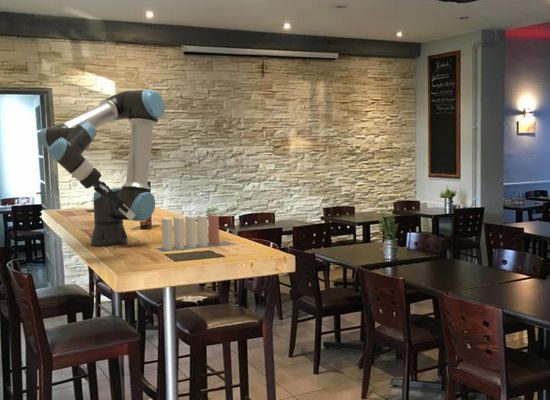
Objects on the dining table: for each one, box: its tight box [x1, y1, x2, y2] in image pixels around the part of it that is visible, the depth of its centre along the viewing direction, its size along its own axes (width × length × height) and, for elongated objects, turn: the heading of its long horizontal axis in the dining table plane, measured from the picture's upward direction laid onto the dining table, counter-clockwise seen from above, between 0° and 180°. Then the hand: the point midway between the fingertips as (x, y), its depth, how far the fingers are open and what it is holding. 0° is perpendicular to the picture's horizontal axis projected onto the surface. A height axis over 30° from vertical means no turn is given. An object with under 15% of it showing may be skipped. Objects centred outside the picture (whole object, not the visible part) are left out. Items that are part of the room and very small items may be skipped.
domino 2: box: [173, 216, 185, 249], centre depth 242 cm, size 2×6×12 cm, turn 31°
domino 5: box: [207, 214, 220, 246], centre depth 250 cm, size 2×6×12 cm, turn 32°
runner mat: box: [153, 240, 237, 253], centre depth 246 cm, size 10×32×1 cm, turn 121°
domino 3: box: [184, 215, 197, 248], centre depth 245 cm, size 2×6×12 cm, turn 31°
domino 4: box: [196, 214, 209, 247], centre depth 247 cm, size 2×6×12 cm, turn 32°
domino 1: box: [161, 217, 173, 250], centre depth 240 cm, size 2×6×12 cm, turn 31°
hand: (132, 217), depth 231 cm, fingers closed
